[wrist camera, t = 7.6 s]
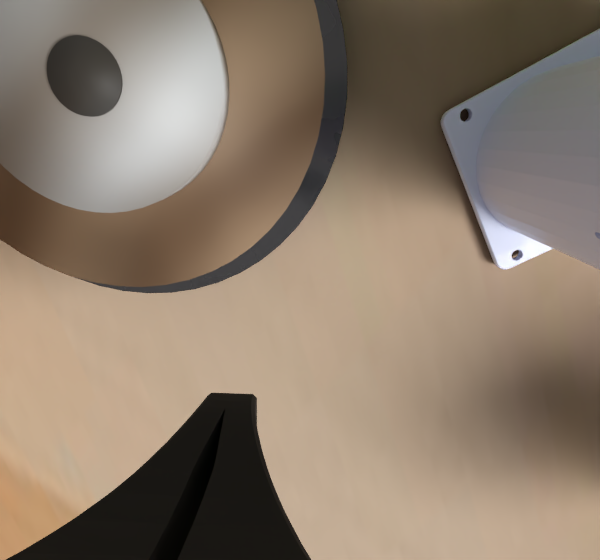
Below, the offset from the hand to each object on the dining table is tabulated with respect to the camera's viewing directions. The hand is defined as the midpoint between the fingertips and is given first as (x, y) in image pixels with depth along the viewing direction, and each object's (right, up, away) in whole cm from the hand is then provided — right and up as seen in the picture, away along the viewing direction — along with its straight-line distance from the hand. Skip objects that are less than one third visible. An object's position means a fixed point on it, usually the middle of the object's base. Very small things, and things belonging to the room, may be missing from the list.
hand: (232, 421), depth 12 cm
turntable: (-5, +12, +4) cm, 14 cm away
